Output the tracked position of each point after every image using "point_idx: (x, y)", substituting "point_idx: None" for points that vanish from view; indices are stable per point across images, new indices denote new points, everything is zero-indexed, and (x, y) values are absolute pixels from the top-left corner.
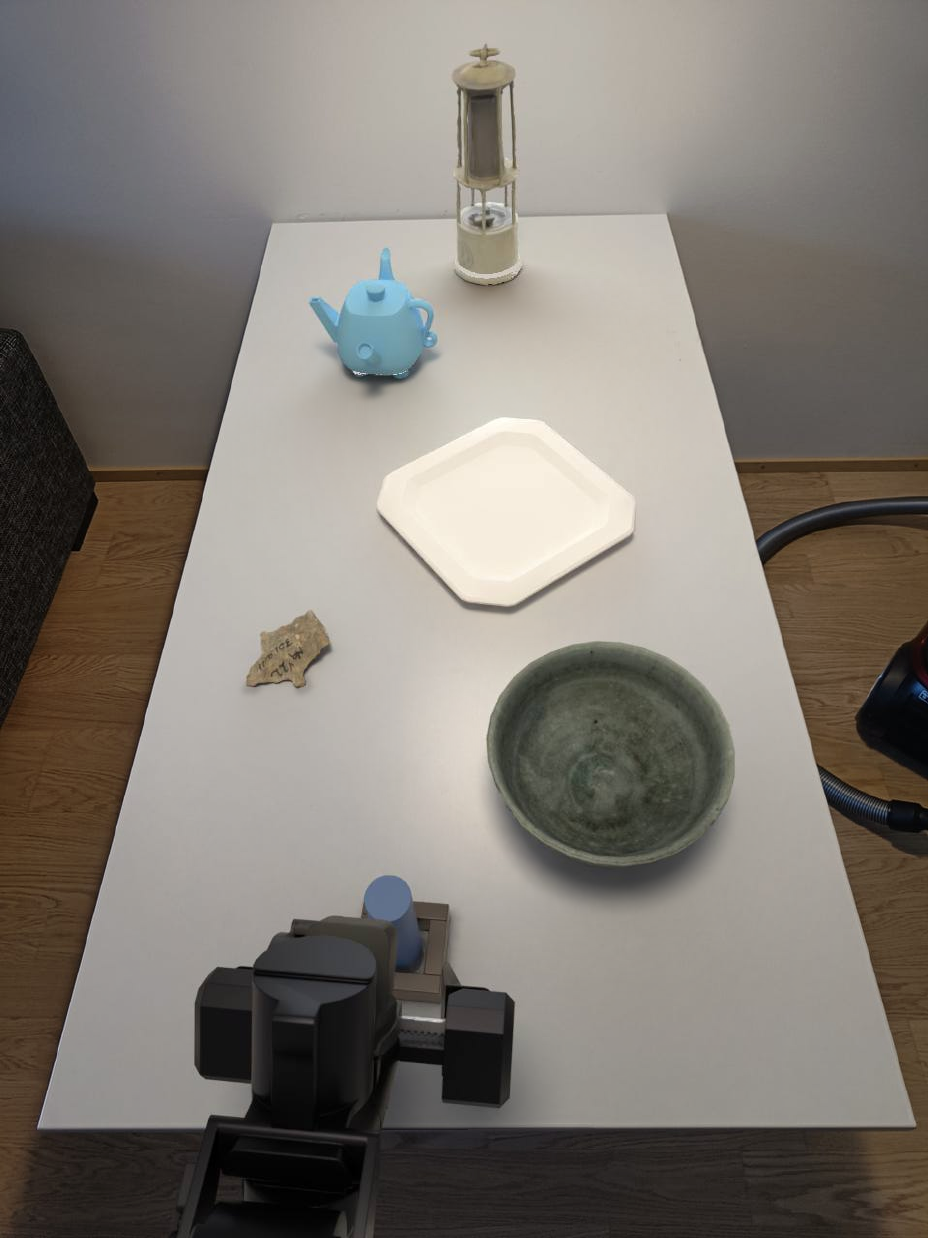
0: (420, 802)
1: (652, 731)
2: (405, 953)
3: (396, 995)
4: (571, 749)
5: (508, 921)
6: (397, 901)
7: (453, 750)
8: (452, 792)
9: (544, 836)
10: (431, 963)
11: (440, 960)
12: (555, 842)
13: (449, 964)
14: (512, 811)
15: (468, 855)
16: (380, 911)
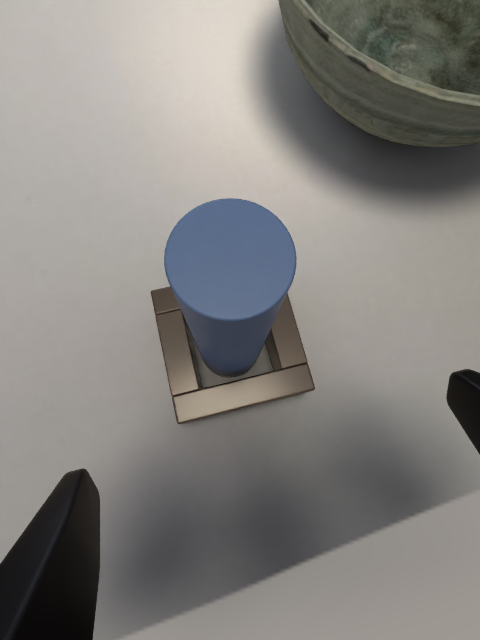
0: (178, 153)
1: None
2: (256, 354)
3: (246, 407)
4: (355, 27)
5: (348, 264)
6: (260, 256)
7: (197, 80)
8: (215, 130)
9: (438, 87)
10: (287, 351)
11: (298, 342)
12: (460, 92)
13: (473, 371)
14: (366, 63)
15: (266, 200)
16: (225, 295)
